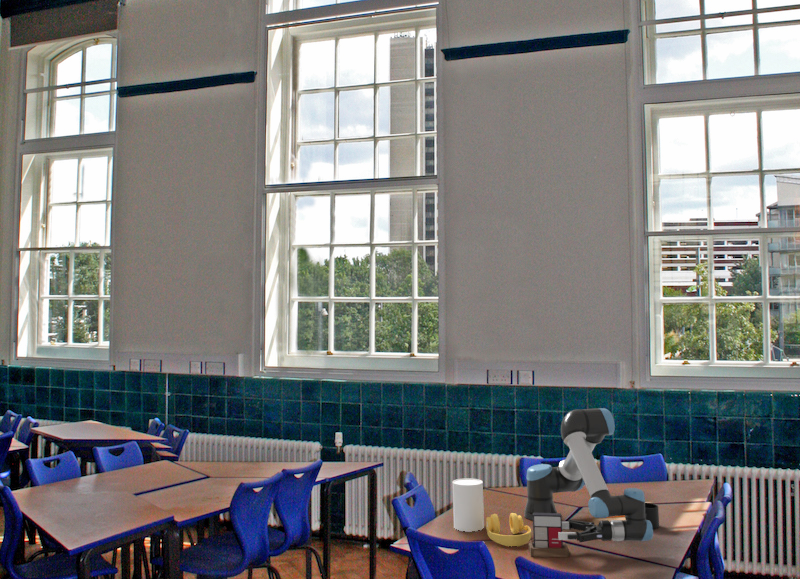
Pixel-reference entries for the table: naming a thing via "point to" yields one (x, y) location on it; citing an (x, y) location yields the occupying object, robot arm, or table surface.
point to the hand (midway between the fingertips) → (555, 530)
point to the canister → (468, 504)
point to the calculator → (547, 530)
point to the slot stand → (548, 551)
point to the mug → (652, 514)
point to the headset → (515, 527)
